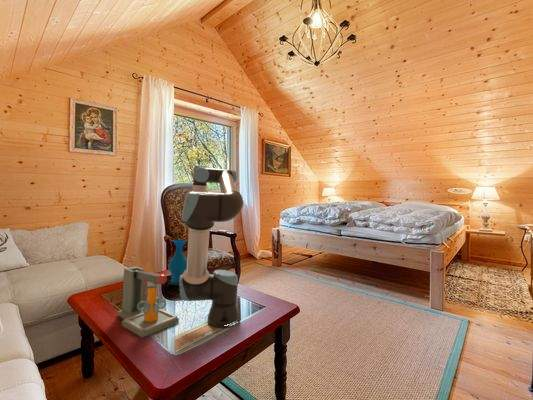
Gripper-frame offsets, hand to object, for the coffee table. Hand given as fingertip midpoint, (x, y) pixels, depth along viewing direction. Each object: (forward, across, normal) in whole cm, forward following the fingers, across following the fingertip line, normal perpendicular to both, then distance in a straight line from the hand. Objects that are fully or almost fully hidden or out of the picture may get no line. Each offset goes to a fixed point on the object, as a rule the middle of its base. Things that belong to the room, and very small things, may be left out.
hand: (197, 235), depth 156 cm
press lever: (+20, -5, +32) cm, 38 cm away
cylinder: (+35, -8, +32) cm, 48 cm away
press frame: (+36, -3, +32) cm, 49 cm away
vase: (+37, +30, -12) cm, 49 cm away
